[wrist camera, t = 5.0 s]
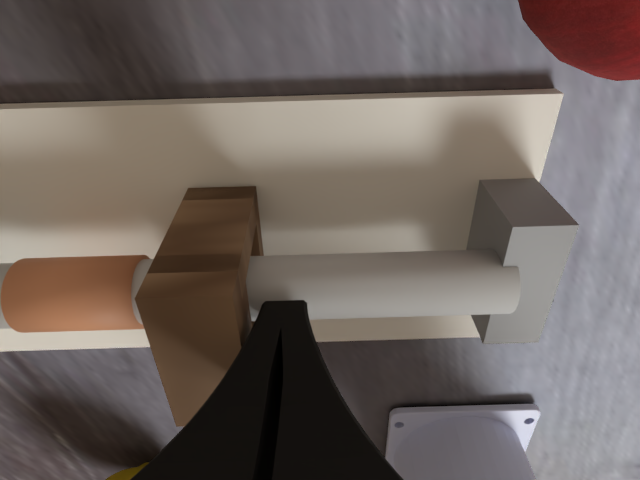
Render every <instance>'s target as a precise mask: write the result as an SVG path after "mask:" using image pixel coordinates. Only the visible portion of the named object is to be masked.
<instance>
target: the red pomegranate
mask: <svg viewBox="0 0 640 480" xmlns="http://www.w3.org/2000/svg"><path fill="white" fill-rule="evenodd" d="M518 2H519V6H520V9H521V13H522V17H523V20H524V21H525V22H526V24H527V25H528V26H529V28H530V29H531V30H532V32H533V33H534V34H535V35H536V36H537V37H538V38H539V39H540V41H541V42H542V43H543V44H544V45H545V47H546V48H547V49H548V50H549V51H550V52H551V53H552V54H553V55H554V56H555V57H556V58H557V59H558V60H560V61H562V62H564V63H566V64H569V65H571V66H573V67H576V68H578V69H580V70H583V71H585V72H587V73H589V74H592V75H594V76H597V77H602V78H606V79H610V80H615V81H621V80H638V79H640V0H518Z"/></svg>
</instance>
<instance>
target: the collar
mask: <svg viewBox="0 0 640 480" xmlns="http://www.w3.org/2000/svg"><path fill="white" fill-rule="evenodd" d="M250 256H264V253H263V244H262V235H261V226H260V217H259V208H258V199H257V190H256V186H242V187H207V188H188V189H187V191H186V193H185V196H184V198H183V200H182V202H181V204H180V206H179V208H178V210H177V212H176V214H175V216H174V218H173V220H172V222H171V224H170V226H169V229H168V231H167V233H166V235H165V237H164V239H163V241H162V243H161V245H160V247H159V249H158V251H157V253H156V255H155V257H154V259H153V262H152V264H151V266H150V268H149V270H148V272H147V274H146V276H145V278H144V280H143V282H142V284H141V286H140V288H139V290H138V292H137V295H136V297H135V302H136V305H137V308H138V311H139V314H140V317H141V320H142V323H143V326H144V329H145V332H146V335H147V338H148V341H149V344H150V347H151V350H152V353H153V356H154V360H155V363H156V366H157V369H158V372H159V375H160V378H161V381H162V384H163V387H164V390H165V393H166V396H167V399H168V402H169V405H170V408H171V411H172V414H173V417H174V420H175V423H176V426H186V424H187V423H188V422H189V421H190V420H191V419H192V417H193V416H194V415H195V414H196V413H197V411H198V410H199V409H200V408H201V407H202V405H203V404H204V403H205V402H206V400H207V399H208V398H209V396H210V395H211V394H212V393H213V391H214V390H215V388H216V387H217V386H218V384H219V383H220V381H221V380H222V379H223V377H224V376H225V374H226V372H227V371H228V369H229V368H230V366H231V365H232V363H233V361H234V360H235V358H236V357H237V355H238V353H239V352H240V350H241V348H242V346H243V344H244V342H245V341H246V339H247V337H248V335H249V333H250V331H251V329H252V327H253V325H254V323H255V321H251V315H250V308H249V301H248V294H247V287H246V277H247V271H248V266H249V261H250Z"/></svg>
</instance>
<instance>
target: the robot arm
mask: <svg viewBox="0 0 640 480" xmlns="http://www.w3.org/2000/svg"><path fill="white" fill-rule="evenodd" d="M540 414H541V412H540V410H539V408H538V406H537V405H535V404H502V405H468V406H435V407H402V408H395V409H393V410H392V411H391V412H390V414H389V424H388V433H387V443H386V453H385V458H384V456H383V455H382V454H381V453H380V451H379V450H378V449H377V447H376V446H375V445H374V444H373V442H372V441H371V440H370V438H369V437H368V435H367V434H366V433H365V431H364V430H363V428H362V427H361V425H360V424H359V423H358V421H357V420H356V418H355V417H354V415H353V414H352V412H351V411H350V409H349V407H348V406H347V404H346V402H345V401H344V399H343V397H342V396H341V394H340V392H339V390H338V388H337V387H336V385H335V383H334V381H333V379H332V377H331V375H330V373H329V371H328V369H327V367H326V364H325V362H324V360H323V358H322V355H321V353H320V350H319V348H318V345H317V342H316V340H315V337H314V334H313V331H312V327H311V324H310V320H309V315H308V309H307V302H305V301H304V300H286V301H265V302H264V303H263V304H262V306H261V309H260V311H259V314H258V316H257V319H256V321H255V323H254V325H253V327H252V329H251V331H250V333H249V335H248V337H247V339H246V341H245V342H244V344H243V346H242V348H241V350H240V352H239V353H238V355H237V357H236V358H235V360H234V361H233V363H232V365H231V366H230V368H229V369H228V371H227V372H226V374H225V376H224V377H223V379H222V380H221V381H220V383H219V384H218V386H217V387H216V388H215V390H214V391H213V393H212V394H211V395H210V396H209V398H208V399H207V400H206V402H205V403H204V404H203V405H202V407H201V408H200V409H199V410H198V411H197V413H196V414H195V415H194V416H193V417H192V419H191V420H190V421H189V422H188V423H187V424H186V426H185V427H184V428H183V429H182V430H181V431H180V432H179V433H178V434H177V435H176V436H175V437H174V438H173V439H172V440H171V441H170V442H169V443H168V444H167V445H166V446H165V447H164V448H163V449H162V451H161V452H160V453H159V454H158V455H157V456H156V457H155V458H153V459H152V460H151V461H150V462H149V463H148V464H147V465H146V466H145V467H144V468H142V469H141V470H140V471H139V472H138V473H137V474H136V475H135V476H133V477H132V478H131V479H130V480H536V478H535V475H534V473H533V470H532V468H531V466H530V463H529V461H528V458H527V456H526V454H525V451H526V449H527V446H528V444H529V441H530V439H531V437H532V434H533V432H534V429H535V427H536V424H537V422H538V419H539V417H540Z"/></svg>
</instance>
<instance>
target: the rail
mask: <svg viewBox="0 0 640 480" xmlns="http://www.w3.org/2000/svg"><path fill="white" fill-rule="evenodd" d="M563 95H564V93H562V92H560V91H559V90H557V89H519V90H483V91H447V92H411V93H374V94H338V95H302V96H266V97H230V98H193V99H157V100H121V101H85V102H49V103H12V104H0V351H30V350H63V349H97V348H131V347H150V344H149V341H148V338H147V335H146V332H145V329H144V326H143V323H142V320H141V317H140V314H139V311H138V308H137V305H136V302H135V297H136V295H137V292H138V290H139V288H140V286H141V284H142V282H143V280H144V278H145V276H146V274H147V272H148V270H149V268H150V266H151V264H152V262H153V259H154V257H155V255H156V253H157V251H158V249H159V247H160V245H161V243H162V241H163V239H164V237H165V235H166V233H167V231H168V229H169V226H170V224H171V222H172V220H173V218H174V216H175V214H176V212H177V210H178V208H179V206H180V204H181V202H182V200H183V198H184V196H185V193H186V191H187V189H188V188H207V187H242V186H256V190H257V199H258V208H259V217H260V226H261V235H262V244H263V253H264V256H250V261H249V266H248V271H247V277H246V287H247V294H248V301H249V308H250V315H251V321H256V319H257V316H258V314H259V311H260V309H261V306H262V304H263V303H264V302H265V301H286V300H304V301H305V302H307V309H308V315H309V320H310V324H311V327H312V331H313V334H314V337H315V340H316V342H333V341H366V340H400V339H434V338H467V337H480V338H481V340H482V343H483V344H504V343H537V342H539V339H540V336H541V333H542V330H543V328H544V325H545V322H546V319H547V316H548V313H549V310H550V308H551V305H552V302H553V299H554V296H555V293H556V290H557V287H558V285H559V282H560V279H561V276H562V273H563V270H564V267H565V264H566V262H567V259H568V256H569V253H570V250H571V247H572V244H573V242H574V239H575V236H576V233H577V230H578V227H579V224H578V223H577V222H576V221H575V220H574V219H573V218H572V217H571V216H570V215H569V214H568V213H567V212H566V211H565V209H564V208H563V207H562V206H561V205H560V204H559V203H558V202H557V201H556V200H555V199H554V198H553V197H552V196H551V195H550V193H549V192H548V191H547V190H546V189H545V188H544V187H543V186H542V185H541V184H540V183H539V182H540V179H541V175H542V171H543V168H544V164H545V160H546V157H547V153H548V150H549V146H550V142H551V139H552V135H553V131H554V128H555V124H556V120H557V117H558V113H559V109H560V106H561V102H562V98H563Z"/></svg>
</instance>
